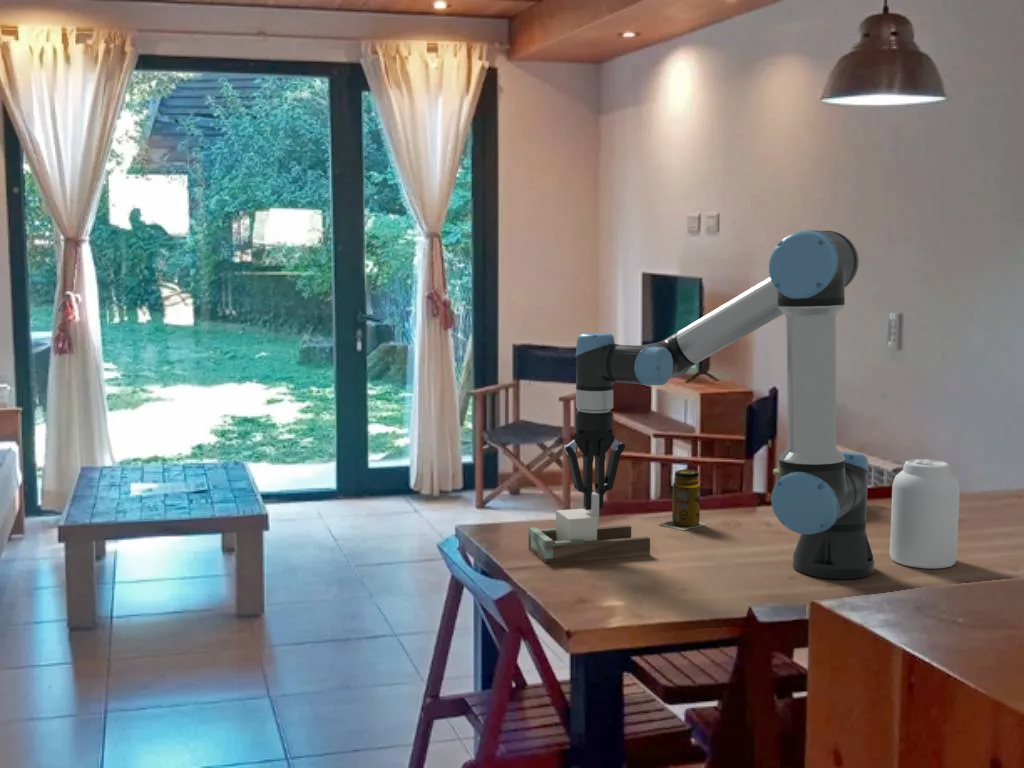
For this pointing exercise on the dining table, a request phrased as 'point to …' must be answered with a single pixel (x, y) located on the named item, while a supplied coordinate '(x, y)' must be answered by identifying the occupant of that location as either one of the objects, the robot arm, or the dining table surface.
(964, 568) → the dining table surface
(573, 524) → the cream block
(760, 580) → the dining table surface
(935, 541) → the can
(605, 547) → the walnut chute
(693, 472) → the condiment
